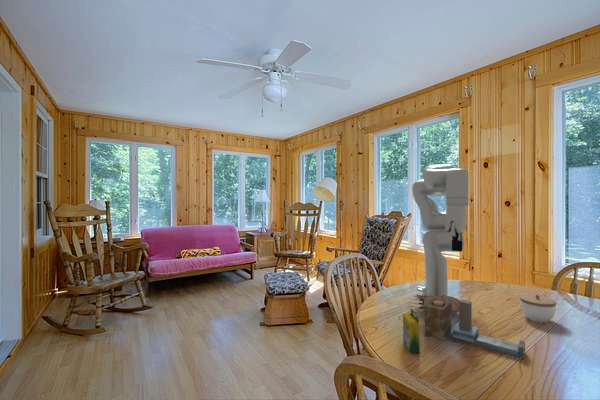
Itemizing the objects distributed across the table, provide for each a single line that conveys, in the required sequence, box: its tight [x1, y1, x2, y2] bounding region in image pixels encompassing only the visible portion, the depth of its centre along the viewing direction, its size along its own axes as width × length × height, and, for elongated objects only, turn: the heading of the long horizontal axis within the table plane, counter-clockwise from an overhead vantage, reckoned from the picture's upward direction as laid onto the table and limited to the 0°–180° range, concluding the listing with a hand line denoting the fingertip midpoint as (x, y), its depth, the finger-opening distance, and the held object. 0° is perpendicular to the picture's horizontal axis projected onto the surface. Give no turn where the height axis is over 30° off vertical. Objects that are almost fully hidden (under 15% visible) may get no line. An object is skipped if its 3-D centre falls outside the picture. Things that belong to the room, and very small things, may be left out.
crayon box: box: [402, 307, 421, 355], centre depth 93 cm, size 7×3×12 cm, turn 178°
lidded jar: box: [519, 294, 557, 323], centre depth 113 cm, size 11×11×9 cm
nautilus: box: [406, 294, 461, 315], centre depth 121 cm, size 8×22×15 cm
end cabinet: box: [423, 299, 453, 341], centre depth 103 cm, size 6×10×10 cm, turn 138°
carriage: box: [453, 299, 479, 343], centre depth 98 cm, size 6×7×11 cm
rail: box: [445, 326, 526, 360], centre depth 94 cm, size 21×5×3 cm, turn 48°
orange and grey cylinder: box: [433, 300, 443, 307], centre depth 103 cm, size 3×3×7 cm
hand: (457, 250), depth 110 cm, fingers closed
